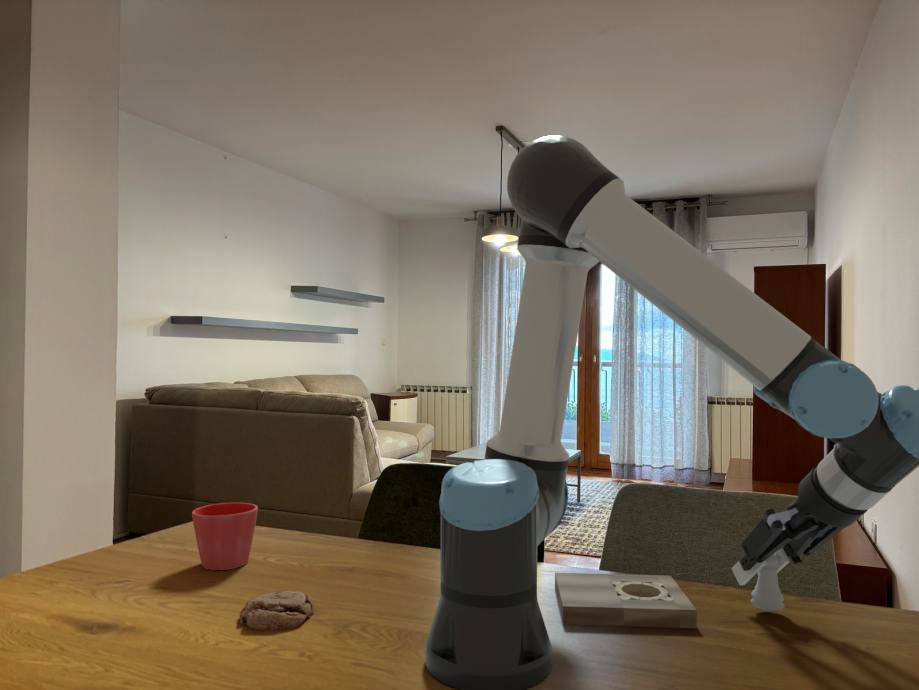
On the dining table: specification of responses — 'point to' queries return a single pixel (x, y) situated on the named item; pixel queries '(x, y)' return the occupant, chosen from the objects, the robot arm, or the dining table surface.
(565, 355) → the robot arm
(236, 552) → the flower pot
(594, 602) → the socket board
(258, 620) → the cookie
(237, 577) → the dining table surface
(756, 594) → the rook chess piece
